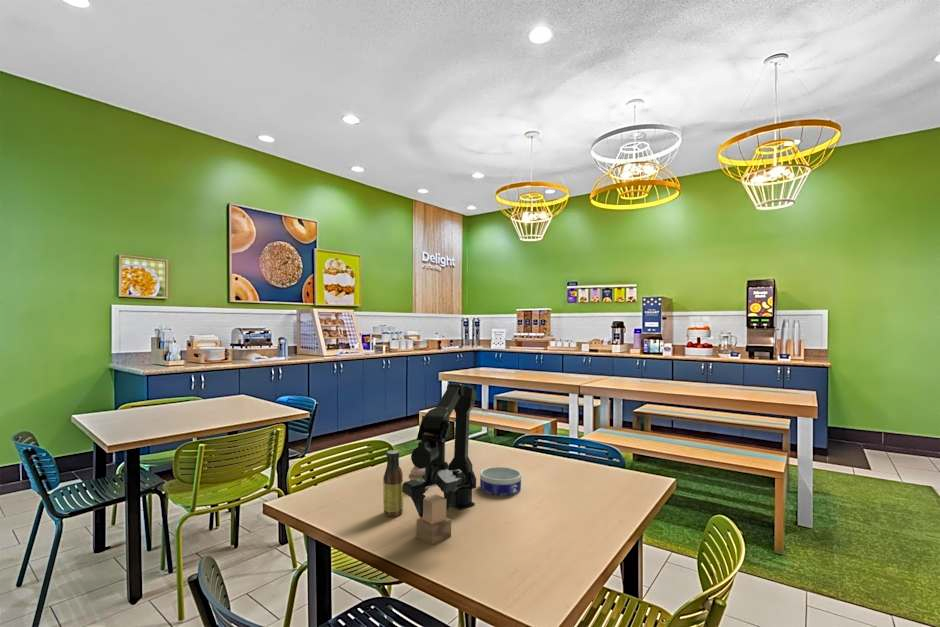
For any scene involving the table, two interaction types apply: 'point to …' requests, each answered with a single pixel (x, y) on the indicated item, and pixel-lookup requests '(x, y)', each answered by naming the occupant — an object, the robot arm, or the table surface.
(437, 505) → the light wooden cube
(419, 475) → the cupcake
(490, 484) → the dog bowl
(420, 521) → the walnut block
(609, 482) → the table surface
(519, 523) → the table surface
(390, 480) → the sauce bottle
